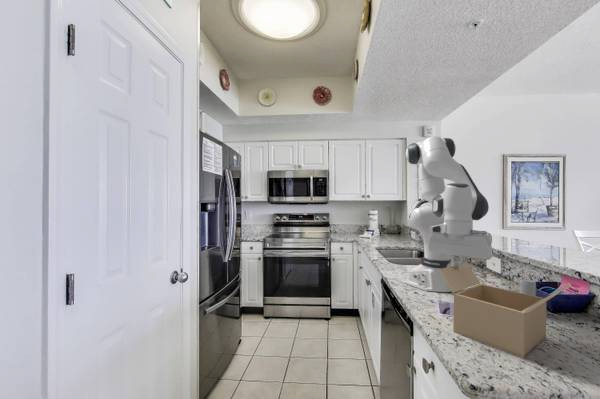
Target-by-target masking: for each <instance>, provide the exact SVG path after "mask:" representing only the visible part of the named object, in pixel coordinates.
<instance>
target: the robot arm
mask: <svg viewBox="0 0 600 399" xmlns="http://www.w3.org/2000/svg"><path fill="white" fill-rule="evenodd" d="M455 154H456V144H455V142H454V140H453V139H452V138H451V137H450V138H449V137H443V138H442V137H440V136H433V135H432V136H430V137H427V138H426V139H425V140H423V141H419V142H412V143H410V144H408V145H407V147H406V151H405V159H406V160H407V163H409V164H410V165H418V164H419V167H418V179H419V187H420V194H421V197H422V198H423V200H425V201H427V202H428V203H429V204H431V206H422V207H416V208H413V210H412V211H411V212H410V216H409V219H410V223H411V225H412V226H413V228H415V229H416V230H417V231H418V232H419V233H420V235H421V238H422V240H423V250H424V253H423V254H424V256H423V257H420V258H419V261H420V264H418V265H416V266H415V267H413V268H412V269H410V270H409V272H408V275H407V278H404V279H403V282H402V283H404V284H405V285H409V286H410V287H411V286H412V287H414V288H417V289H420V290H422V291H425V292H437V293H448V292H449V293H450V292H452V291H451V289H450V287H449V286H448V284H447V282H446V281H445V279H444V278H443V276H442V274H441V273H440V271H439V269H442V268H446V267H450V266H453V267H454V268H456V269H462V264H463V263H466V262H465V261H466V260H467V258H468V259H469V258H471V259H474V260H475V259H476V260H482V261H483V260H484V261H489V260H491V259H492V258H493V256H494V254H493V247H492V243H493V236H492V234H490V233H489V232H487V231H486V230H475V229H474V226H473V225H474V221H480V220H481V219H482V218H484V217H485V216H487V214H488V212H489V206H490V205H489V202H488V200H487V198H486V197H485V196H484V195H483V193H481V191H480V190H479V188H478V187H477V185H476V183H475V182H474V180H473V179H472V177H471V175H470V174H469V172H468V171H467V169H466V167H465V166H464V165H463V164H461V163H459V162H458V161H456V160H455V158H453V157H454V156H455ZM445 180H448V181H449V182H450V181H451V183H447V184H446V183H445ZM452 182H453V183H452ZM457 258H458V260H459V262H458V261H457Z"/></svg>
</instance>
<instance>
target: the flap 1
mask: <svg viewBox="0 0 600 399" xmlns="http://www.w3.org/2000/svg"><path fill="white" fill-rule="evenodd" d="M439 271H440V273H441V274H442V276H443V278H444V279H445V281H446V282H447V284H448V286H449V287H450V289H451V292H452V294H455V293H458V292H460V291H463V290H466V289H468V288H471V287H474V286H476V285H479V284H481V281H480V280H479V279H478V277H477V275H476V274H475V273H474V271H473V270H472V268H471V266H470V265H469V264H468V262H464V263H463V264H462V269H456V268H454V267H453V265H451V266H450V267H446V268H442V269H439Z"/></svg>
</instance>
